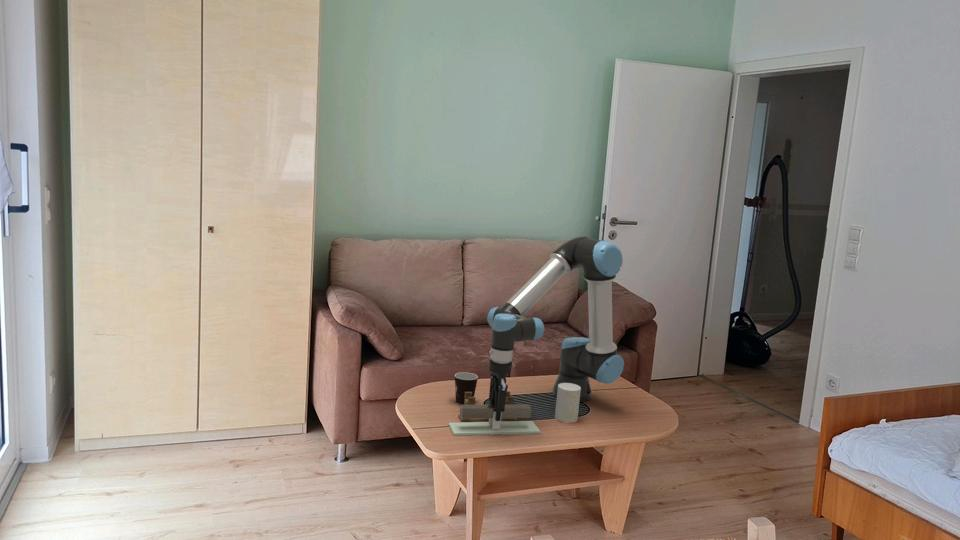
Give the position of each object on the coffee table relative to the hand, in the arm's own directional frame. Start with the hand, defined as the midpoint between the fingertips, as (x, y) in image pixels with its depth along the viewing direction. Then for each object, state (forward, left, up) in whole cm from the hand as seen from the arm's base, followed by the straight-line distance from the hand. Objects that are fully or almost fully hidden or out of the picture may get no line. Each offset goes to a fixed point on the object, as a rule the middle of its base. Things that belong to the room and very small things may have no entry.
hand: (494, 426), depth 247 cm
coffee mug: (+4, -27, -1) cm, 27 cm away
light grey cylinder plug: (-29, -8, -1) cm, 30 cm away
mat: (0, 0, -1) cm, 1 cm away
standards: (0, -9, -1) cm, 9 cm away
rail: (0, 0, +4) cm, 4 cm away
